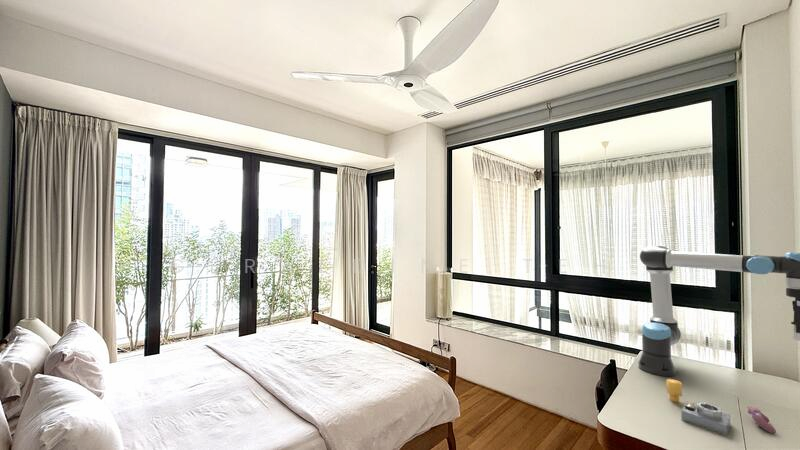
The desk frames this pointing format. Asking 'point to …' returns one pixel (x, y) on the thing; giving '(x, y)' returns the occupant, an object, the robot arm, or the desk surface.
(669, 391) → the yellow capsule
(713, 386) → the desk surface
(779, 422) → the desk surface
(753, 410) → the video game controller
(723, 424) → the box
